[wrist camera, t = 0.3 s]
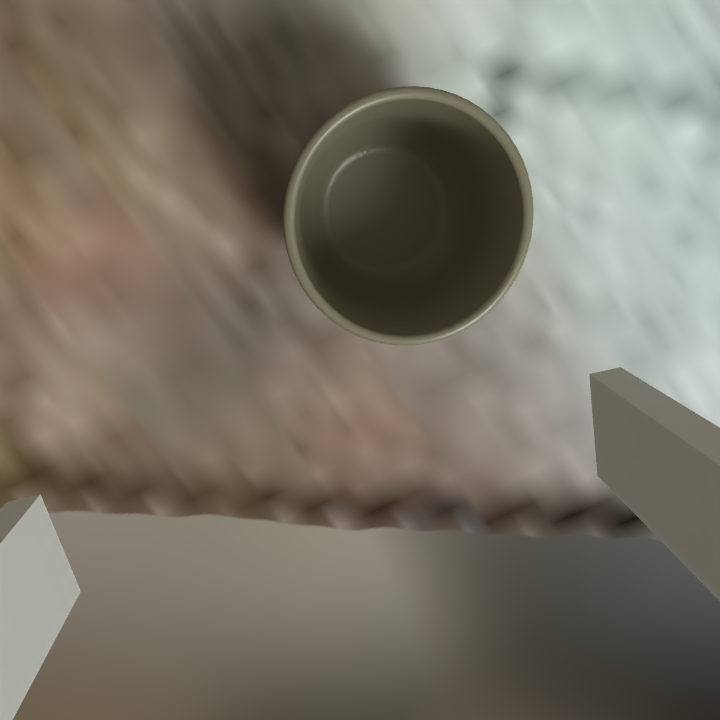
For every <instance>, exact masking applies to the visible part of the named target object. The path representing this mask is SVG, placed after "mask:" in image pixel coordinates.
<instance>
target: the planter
mask: <svg viewBox="0 0 720 720" xmlns="http://www.w3.org/2000/svg"><path fill="white" fill-rule="evenodd" d="M283 226H284V238H285V243H286V249H287V253H288V256H289V260H290V263H291V266H292V268H293V270H294V273H295V275H296V277H297V279H298V281H299V283H300V285H301V287H302V288H303V290H304V291H305V293H306V294H307V296H308V297H309V298H310V299H311V301H312V302H313V303H314V304H315V305H316V307H317V308H318V309H319V310H320V311H321V312H322V313H324V314H325V315H326V316H327V317H328V318H329V319H331V320H332V321H333V322H334V323H336V324H337V325H339V326H340V327H342V328H344V329H345V330H347V331H349V332H351V333H353V334H355V335H357V336H359V337H362V338H365V339H368V340H371V341H375V342H379V343H384V344H391V345H419V344H425V343H431V342H435V341H438V340H442V339H445V338H447V337H450V336H453V335H455V334H457V333H459V332H461V331H463V330H465V329H467V328H468V327H470V326H471V325H473V324H475V323H476V322H477V321H479V320H480V319H481V318H483V317H484V316H485V315H486V314H487V313H489V312H490V311H491V310H492V309H493V308H494V307H495V306H496V305H497V304H498V303H499V301H500V300H501V299H502V298H503V297H504V295H505V294H506V293H507V291H508V290H509V289H510V287H511V286H512V284H513V282H514V281H515V279H516V277H517V276H518V274H519V271H520V269H521V267H522V265H523V263H524V260H525V257H526V254H527V251H528V248H529V244H530V240H531V234H532V227H533V197H532V190H531V184H530V180H529V177H528V173H527V170H526V167H525V165H524V162H523V159H522V157H521V155H520V153H519V151H518V149H517V147H516V146H515V144H514V143H513V141H512V140H511V138H510V136H509V135H508V134H507V133H506V131H505V130H504V129H503V128H502V127H501V125H500V124H499V123H498V122H497V121H496V120H495V119H494V118H493V117H491V116H490V115H489V114H488V113H487V112H485V111H484V110H483V109H481V108H480V107H478V106H477V105H475V104H474V103H472V102H470V101H469V100H467V99H464V98H462V97H460V96H458V95H456V94H453V93H450V92H446V91H443V90H439V89H434V88H428V87H417V86H412V87H397V88H390V89H385V90H381V91H377V92H374V93H371V94H369V95H366V96H364V97H361V98H359V99H357V100H355V101H353V102H351V103H349V104H348V105H346V106H345V107H343V108H342V109H340V110H339V111H337V112H336V113H335V114H334V115H332V116H331V117H330V118H329V119H328V120H327V121H325V122H324V124H323V125H322V126H321V127H320V128H319V129H318V130H317V131H316V132H315V133H314V135H313V136H312V137H311V139H310V140H309V141H308V142H307V144H306V146H305V147H304V149H303V150H302V152H301V154H300V155H299V158H298V160H297V162H296V164H295V166H294V168H293V171H292V174H291V177H290V179H289V183H288V187H287V191H286V195H285V203H284V214H283Z"/></svg>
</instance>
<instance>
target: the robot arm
mask: <svg viewBox="0 0 720 720" xmlns="http://www.w3.org/2000/svg"><path fill="white" fill-rule="evenodd" d="M589 375H590V387H591V400H592V412H593V425H594V438H595V450H596V463H597V475H598V477H599V478H600V479H601V480H602V481H603V482H604V483H605V484H606V485H607V486H608V487H609V488H610V489H611V490H612V491H613V492H614V493H615V494H616V495H617V496H618V497H619V498H620V499H621V500H622V501H623V502H624V503H625V504H626V505H627V506H628V507H629V508H630V509H631V510H632V511H633V512H634V513H635V514H636V515H637V516H638V518H639V519H640V520H641V521H642V522H643V523H644V524H645V525H646V526H647V527H648V528H649V529H650V530H651V531H652V532H653V533H654V534H655V535H656V536H657V537H658V538H659V539H660V540H661V541H662V542H663V543H664V544H665V545H666V546H667V547H668V548H669V549H670V550H671V551H672V552H673V553H674V554H675V555H676V556H677V557H678V558H679V559H680V561H681V562H682V563H683V564H684V565H685V566H686V567H687V568H688V569H689V570H690V571H691V572H692V573H693V574H694V575H695V576H696V577H697V578H698V579H699V580H700V581H701V582H702V583H703V584H704V585H705V586H706V587H707V588H708V589H709V590H710V591H711V592H712V593H713V594H714V595H715V596H716V597H717V598H718V599H719V601H720V428H719V427H718V426H716V425H714V424H713V423H711V422H709V421H708V420H706V419H704V418H703V417H701V416H700V415H698V414H696V413H695V412H693V411H691V410H690V409H688V408H686V407H685V406H683V405H682V404H680V403H678V402H677V401H675V400H673V399H672V398H670V397H668V396H667V395H665V394H663V393H662V392H660V391H659V390H657V389H655V388H654V387H652V386H650V385H649V384H647V383H645V382H644V381H642V380H641V379H639V378H637V377H636V376H634V375H632V374H631V373H629V372H627V371H626V370H624V369H623V368H621V367H620V368H615V369H611V370H606V371H602V372H597V373H593V374H589ZM79 594H80V589H79V586H78V584H77V581H76V579H75V577H74V574H73V572H72V570H71V567H70V565H69V562H68V560H67V557H66V555H65V553H64V550H63V548H62V545H61V543H60V541H59V538H58V536H57V533H56V531H55V529H54V526H53V524H52V521H51V519H50V517H49V514H48V512H47V509H46V507H45V505H44V502H43V500H42V497H41V495H36V496H32V497H27V498H23V499H18V500H14V501H9V502H7V503H6V504H5V505H4V506H3V507H2V508H1V510H0V720H12V719H13V718H14V716H15V714H16V712H17V710H18V708H19V706H20V705H21V702H22V701H23V699H24V697H25V695H26V693H27V691H28V689H29V688H30V686H31V684H32V682H33V680H34V678H35V676H36V675H37V673H38V671H39V669H40V667H41V665H42V663H43V661H44V659H45V657H46V655H47V654H48V652H49V650H50V648H51V646H52V644H53V643H54V641H55V639H56V637H57V635H58V633H59V631H60V629H61V628H62V626H63V623H64V622H65V620H66V618H67V616H68V614H69V612H70V611H71V609H72V607H73V605H74V603H75V601H76V599H77V597H78V595H79Z"/></svg>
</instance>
